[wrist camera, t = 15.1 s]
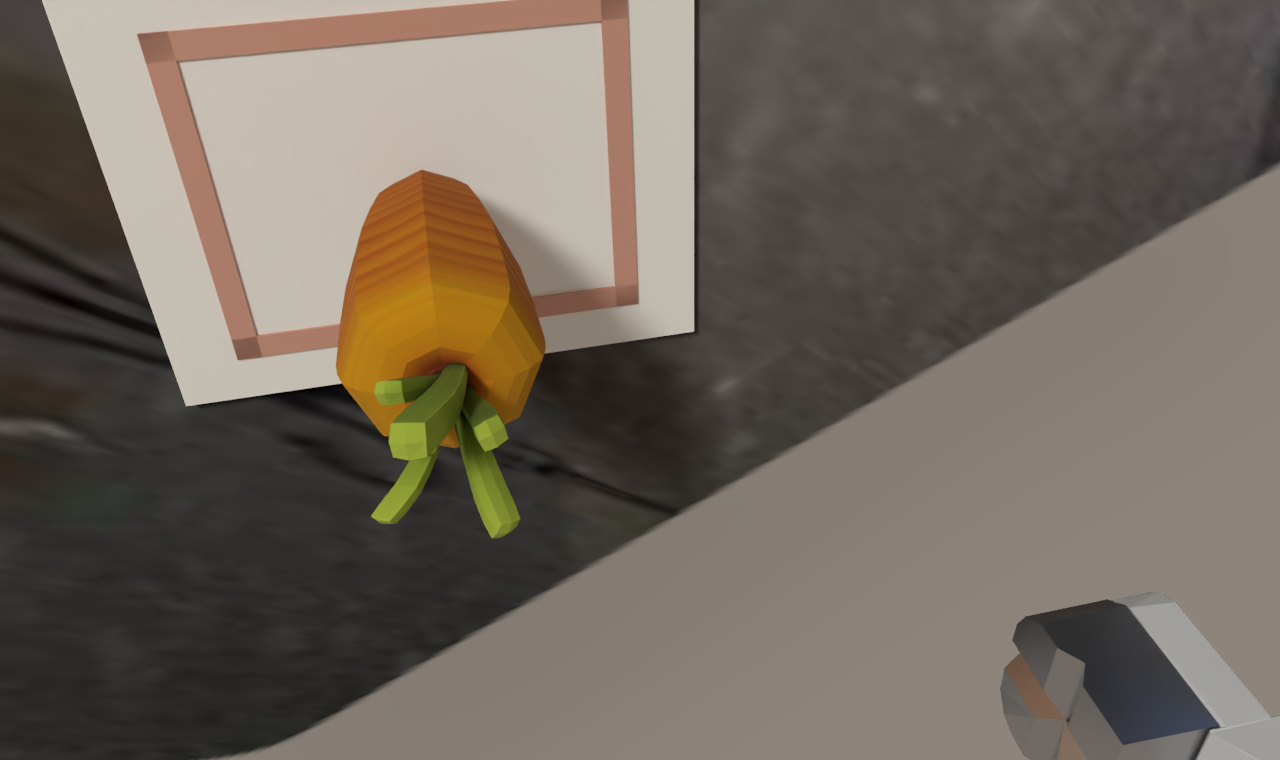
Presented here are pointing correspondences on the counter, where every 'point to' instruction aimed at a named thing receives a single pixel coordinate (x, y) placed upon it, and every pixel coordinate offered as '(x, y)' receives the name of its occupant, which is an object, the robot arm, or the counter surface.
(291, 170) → the print card
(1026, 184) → the counter surface
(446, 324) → the carrot
